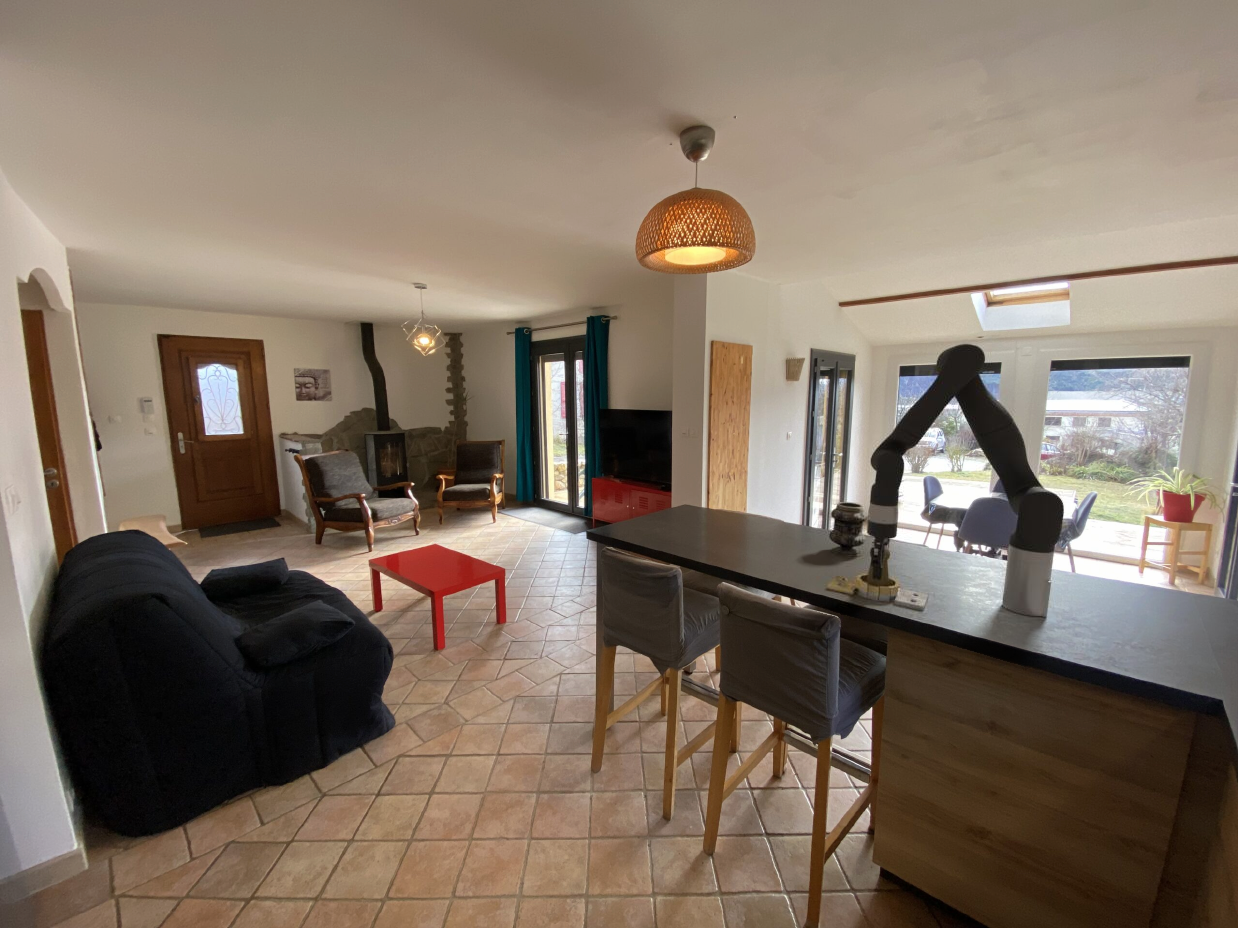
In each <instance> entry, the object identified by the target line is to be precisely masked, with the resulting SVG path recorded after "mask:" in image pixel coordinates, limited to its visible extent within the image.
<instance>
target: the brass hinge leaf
mask: <svg viewBox="0 0 1238 928" xmlns="http://www.w3.org/2000/svg"><path fill="white" fill-rule="evenodd" d="M867 576H868V572H867V573H860V574H858V575H857V576H856V577H855V578H853V577H852V578H851V577H847V576H841V575H839V574H838V575H837V574H836V575H835V577H834V578H833V579H832V580H831V581H830V582H829V583H828V584H827V590H832V591H835V592H841V593H844V594H848V595H851V596H852V595H854V594H855V593H856V585H857V586H858V588H860V589H862V590H864V591H867V592H870V593H875V594H881V595H892V594H897V593H898V592H899V591H900V589H901V587H900V586H901V583H900V582H899V581H898V580H897V579H896V578H893V577H890V576H889V585H890V586H889V587H884V586H876V585H871V584H868V583H866V582H865V581H867Z"/></svg>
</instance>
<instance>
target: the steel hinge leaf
mask: <svg viewBox="0 0 1238 928" xmlns="http://www.w3.org/2000/svg"><path fill="white" fill-rule="evenodd" d="M865 582H866V581H865ZM889 586H890V585H889ZM855 593H857V595H858V596H861V597H863V598H865V599H868V600H872V601H876V602H885V603H886V602H887V603H889V602H894V603H893V604H894V605H897V606H900V607H901V606H902V607H906V608H910V609H914V610H918V611H923V612H924V611H925V608H926V605H927V603H928V601H929V593H928V594H927V593H923V592H919V591H912V590H910V589H909V590H908V589H904V588H900V590H899V592H898V593H897V594H892V595H881V594H875V593H870V592H867V591H864V590H862V589H860V588H858V586H857V585H856V591H855Z"/></svg>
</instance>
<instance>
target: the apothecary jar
mask: <svg viewBox="0 0 1238 928" xmlns="http://www.w3.org/2000/svg"><path fill="white" fill-rule="evenodd" d="M835 507H836V508H834V509H832V511H831V512H830V514H831V517H832V519H834V522H833V528H832V530H831V531H830V532H829V534H828V537H829V539H830V540H831V541H832V542H833V543H834V544H836V545H838V546H835V547H833V548H832V549H831V552H832V553H834V554H836V555H839V556H844V557H860V556H861V555H862V552H861V551H860V550H858V549H857V548H855V547H860V546H863V544H865V542H866V536H865V535H864V534H863V525H864V523H865V522H866V520H868V514H867V513H866V512H865V511H864V508H863V507H864V506H863V505H862V504H860V503H856V502H850V501H839V502H838V503H837V504H836V506H835Z"/></svg>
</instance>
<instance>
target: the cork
mask: <svg viewBox="0 0 1238 928" xmlns="http://www.w3.org/2000/svg"><path fill="white" fill-rule="evenodd" d="M883 552H884V551H883ZM869 556H870V557H871V548H870V550H869ZM882 556H883V554H882ZM890 557H891V551H890V549H889V550H888V549H887V550H886V555H885V560H883V567H882V575H881V580H878V579H877V578H875V579H873V578H872V576H873V566H871V562H870V563H869V567H868V572H867V573H868V576H867V581H866V583H868V584H871V585H876V586H884V587H889V577H890V575H889V574H890V573H889V563H888V561H889V559H890ZM875 562H877V563H879V561H878V560H875Z"/></svg>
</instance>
